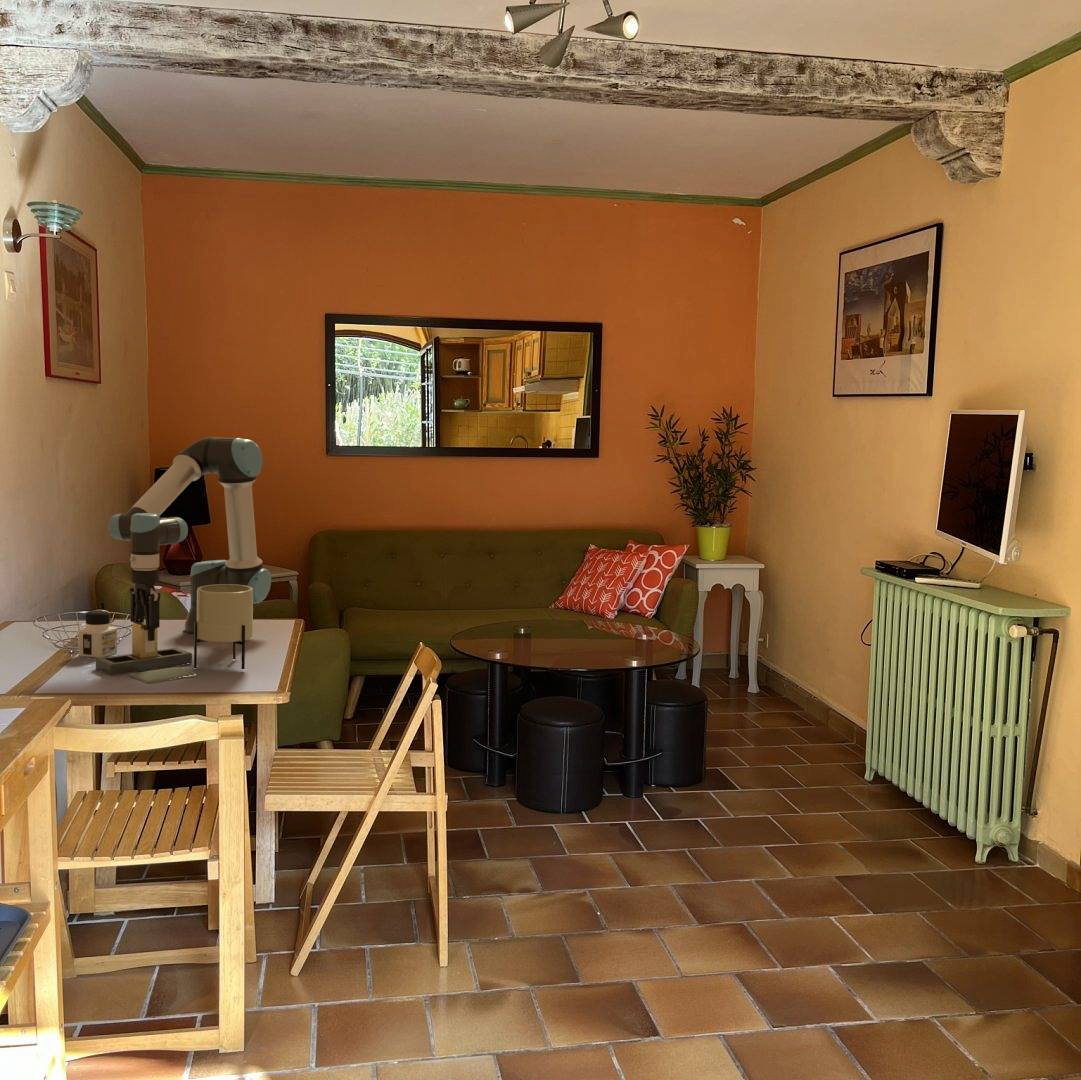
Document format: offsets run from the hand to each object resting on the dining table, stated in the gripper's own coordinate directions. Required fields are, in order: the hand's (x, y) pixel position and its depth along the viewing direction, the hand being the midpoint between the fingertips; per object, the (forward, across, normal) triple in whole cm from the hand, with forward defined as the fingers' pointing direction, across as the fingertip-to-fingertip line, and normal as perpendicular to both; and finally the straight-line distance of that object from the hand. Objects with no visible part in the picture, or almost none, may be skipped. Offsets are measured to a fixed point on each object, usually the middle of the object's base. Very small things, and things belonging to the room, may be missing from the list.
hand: (144, 649), depth 298 cm
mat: (+5, +13, -1) cm, 14 cm away
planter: (+5, +14, +17) cm, 23 cm away
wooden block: (+5, 0, 0) cm, 5 cm away
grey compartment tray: (+5, 0, 0) cm, 5 cm away
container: (+5, -21, -4) cm, 22 cm away
